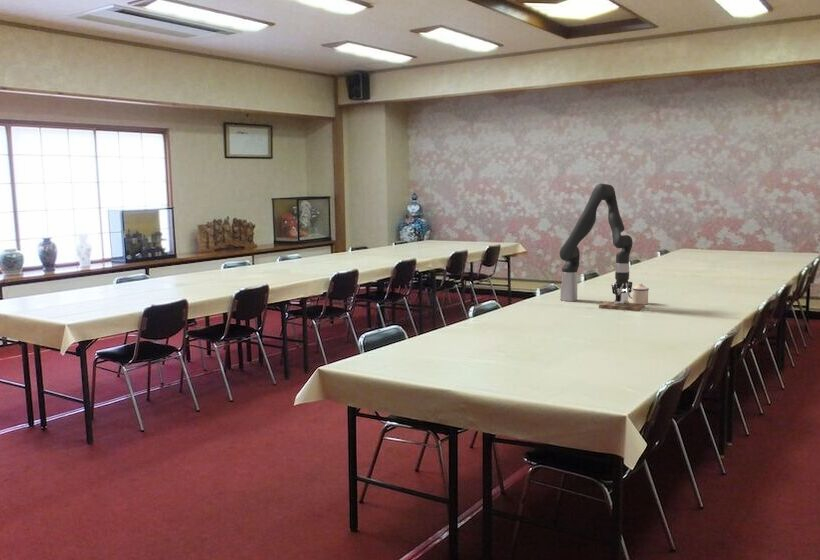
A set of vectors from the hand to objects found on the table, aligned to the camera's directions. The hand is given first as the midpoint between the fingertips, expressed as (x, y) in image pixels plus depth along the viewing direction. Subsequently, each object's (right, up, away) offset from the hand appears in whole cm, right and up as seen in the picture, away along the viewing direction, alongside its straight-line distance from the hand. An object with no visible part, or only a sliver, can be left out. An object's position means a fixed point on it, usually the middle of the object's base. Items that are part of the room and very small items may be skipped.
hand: (621, 300), depth 414 cm
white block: (0, -1, 0) cm, 1 cm away
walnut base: (0, -4, 0) cm, 4 cm away
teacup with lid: (+13, -2, +14) cm, 20 cm away
